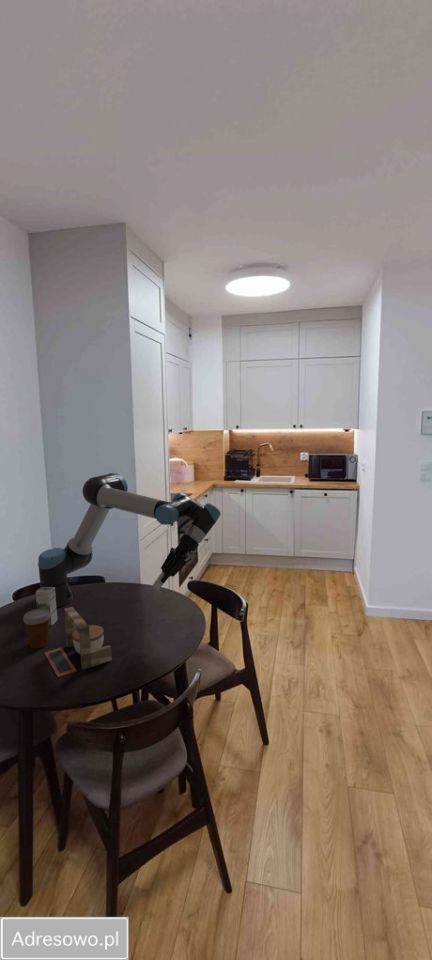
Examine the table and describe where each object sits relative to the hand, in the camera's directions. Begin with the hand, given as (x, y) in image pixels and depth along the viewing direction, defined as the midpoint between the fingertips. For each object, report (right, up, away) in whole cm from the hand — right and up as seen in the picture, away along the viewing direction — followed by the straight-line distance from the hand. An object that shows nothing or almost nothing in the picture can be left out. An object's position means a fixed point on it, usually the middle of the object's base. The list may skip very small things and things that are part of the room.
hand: (155, 588), depth 171 cm
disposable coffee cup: (-42, -20, -4) cm, 47 cm away
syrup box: (-45, -17, +13) cm, 50 cm away
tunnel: (-22, -20, -11) cm, 32 cm away
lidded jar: (-22, -21, -11) cm, 32 cm away
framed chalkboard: (-30, -21, -17) cm, 41 cm away
